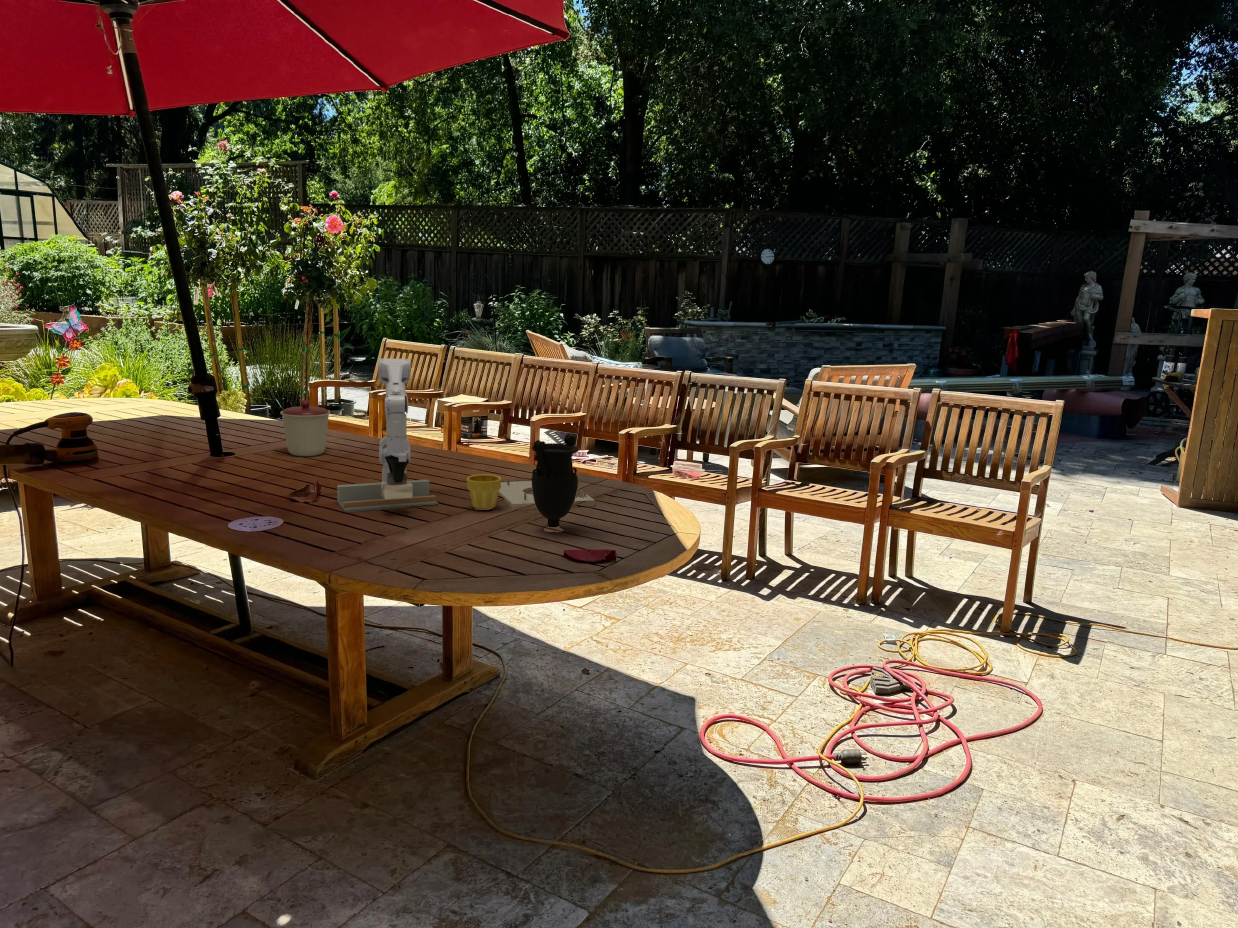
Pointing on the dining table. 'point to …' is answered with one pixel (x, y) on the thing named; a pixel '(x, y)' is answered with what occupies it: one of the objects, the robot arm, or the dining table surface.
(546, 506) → the urn
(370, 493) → the wall board
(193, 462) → the dining table surface
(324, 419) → the canister
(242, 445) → the dining table surface
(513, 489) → the mounting panel
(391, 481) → the cabinet block
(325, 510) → the dining table surface
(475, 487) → the plant pot
